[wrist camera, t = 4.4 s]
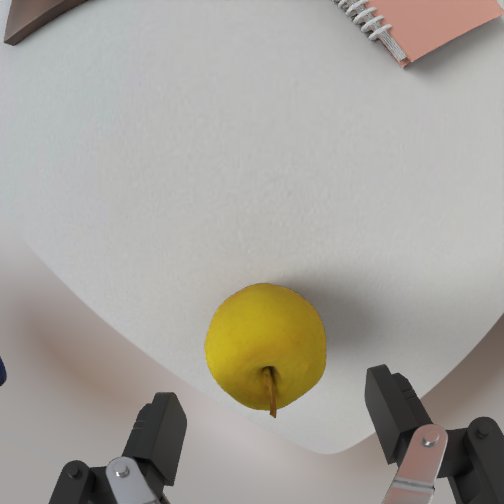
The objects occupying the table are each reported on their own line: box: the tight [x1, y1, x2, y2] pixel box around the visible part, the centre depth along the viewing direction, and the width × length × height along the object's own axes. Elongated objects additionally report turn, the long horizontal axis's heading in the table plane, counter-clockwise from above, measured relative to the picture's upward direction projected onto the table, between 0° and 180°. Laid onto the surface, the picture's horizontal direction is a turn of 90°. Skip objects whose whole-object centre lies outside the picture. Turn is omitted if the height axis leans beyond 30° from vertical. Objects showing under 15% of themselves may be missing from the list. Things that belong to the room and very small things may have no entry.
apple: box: [205, 283, 326, 418], centre depth 15 cm, size 6×6×8 cm
